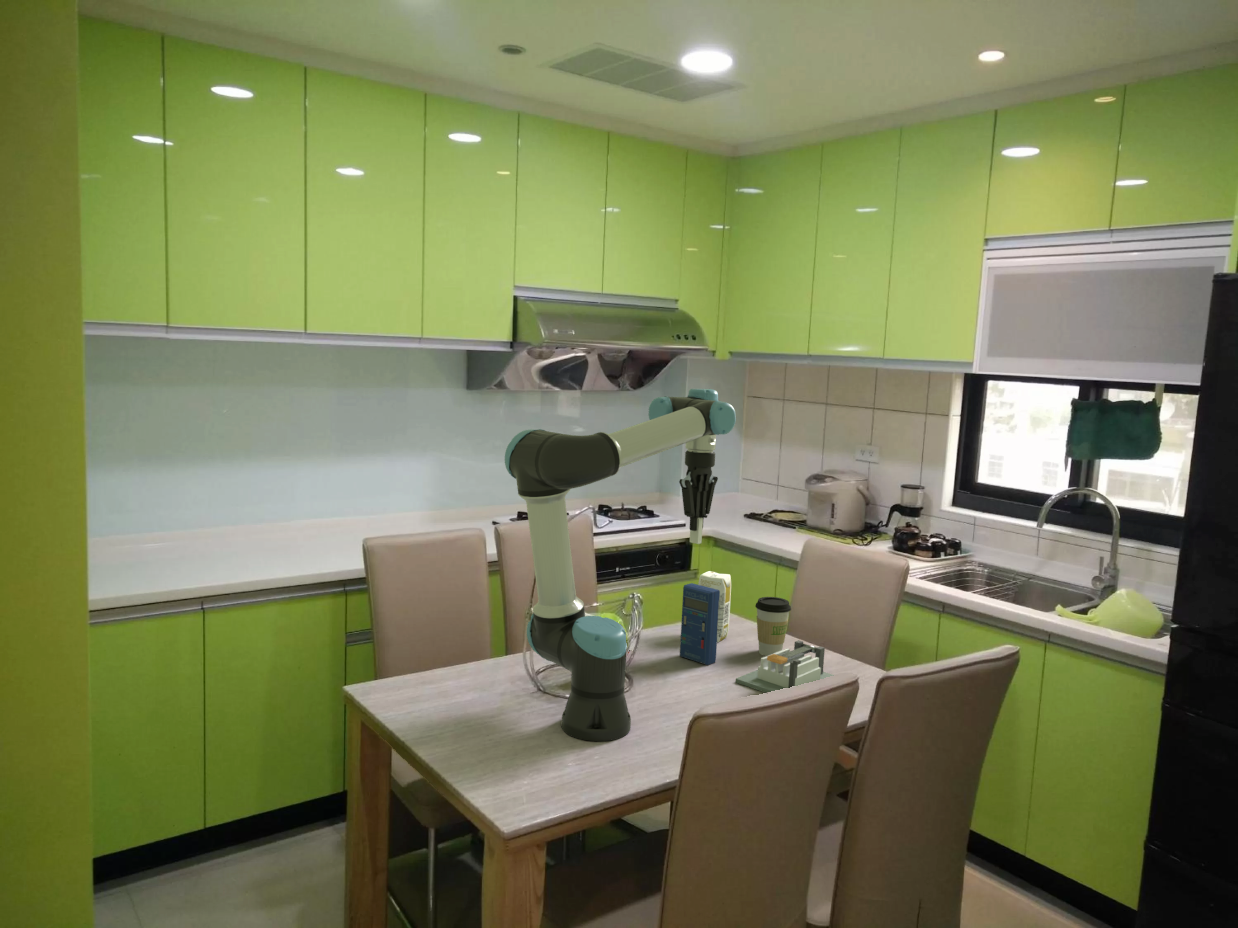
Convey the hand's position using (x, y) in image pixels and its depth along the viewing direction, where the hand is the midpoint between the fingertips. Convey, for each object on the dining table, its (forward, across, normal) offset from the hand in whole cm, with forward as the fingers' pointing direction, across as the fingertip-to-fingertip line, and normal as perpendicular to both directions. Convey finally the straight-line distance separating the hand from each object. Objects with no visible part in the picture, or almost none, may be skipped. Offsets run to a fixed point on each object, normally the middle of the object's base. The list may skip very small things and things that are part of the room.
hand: (695, 542), depth 228 cm
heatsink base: (+34, +15, -21) cm, 43 cm away
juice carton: (+35, +28, +14) cm, 47 cm away
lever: (+28, +16, -21) cm, 38 cm away
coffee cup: (+35, +30, -5) cm, 46 cm away
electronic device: (+35, +10, +5) cm, 36 cm away
